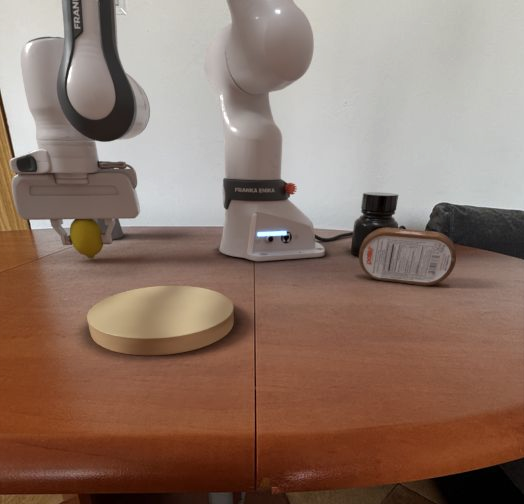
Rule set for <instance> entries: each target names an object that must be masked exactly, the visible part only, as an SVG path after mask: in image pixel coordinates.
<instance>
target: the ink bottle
mask: <svg viewBox="0 0 524 504" xmlns="http://www.w3.org/2000/svg"><path fill="white" fill-rule="evenodd" d="M398 200H399V194H397V193H392V192H376V191H375V192H373V191H371V192H370V191H369V192H368V191H367V192H363V193H362V200H361V205H360V206H361V207H360V209H361V210H360V212H361V214H362V215H360V216H359V217H357V219H355V220H354V223H353V228H352V232H353V235H352V237H351V243H350V252H351V254H353V255H354V256H357V257H359V253H360V248H361V245H362V243H363V241H364V239H365V238H366V237H367V236H368V235H369V234H370V233H372V232H373V231H375V230H377V229H381V228H399V223H398V221H397V220H395V219H396V218H395V217H394V215H395V214H396V211H397V205H398Z"/></svg>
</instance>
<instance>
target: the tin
mask: <svg viewBox="0 0 524 504" xmlns="http://www.w3.org/2000/svg"><path fill="white" fill-rule="evenodd" d="M398 228H399V227H398ZM398 228H381V229H377V230H375V231H373V232H372V233H370V234H369V235H368V236H367V237H366V238H365V239H364V241H363V243H362V245H361V248H360V253H359V256H358V261H359V265H360V268H361V270H362V271H363V272H364V273H365V274H366V275H367V276H368V277H369V278H372V279H373V280H377V281H383V282H390V283H391V282H392V283H400V284H409V285H417V286H425V287H426V286H434V285H436V284H439V283H441V282H442V281H444V280H446V279H447V278H448V277H449V276H450V275H451V274H452V273H453V270H454V268H455V266H456V263H457V250H456V246H455V244H454V242H453V241H452V240H451V238H450V237H449V236H447V235H445V234H444V233H441V232H438V231H430V230H420V229H419V230H417V229H407V228H406V229H398Z"/></svg>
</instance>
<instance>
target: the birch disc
mask: <svg viewBox="0 0 524 504" xmlns="http://www.w3.org/2000/svg"><path fill="white" fill-rule="evenodd" d="M234 309H235V308H234V303H233V302H232V300H231V299H230V298H229V297H228V296H226V295H224V294H223V293H220V292H218V291H215V290H212V289H208V288H204V287H198V286H189V285H158V286H157V285H156V286H147V287H140V288H135V289H130V290H126V291H122V292H119V293H116V294H113V295H111V296H108V297H106V298H103V299H102V300H100V301H98V302H97V303H95V304H94V305H93V306H91V308H90V309H89V310H88V312H87V314H86V319H87V325H88V329H89V334H90V337H91V338H92V339H91V340H93V342H94V343H96V344H97V345H99V346H100V347H102V348H103V349H106V350H108V351H112V352H115V353H120V354H126V355H132V356H133V355H134V356H167V355H174V354H175V355H176V354H181V353H186V352H191V351H195V350H198V349H201V348H204V347H207V346H210V345H212V344H214V343H216V342H218V341H220V340H221V339H223V338H224V337H226V336H227V335H228V334H229V333H230V332H231V330H232V329H233V327H234V323H235V315H234V314H235V313H234V311H235V310H234Z"/></svg>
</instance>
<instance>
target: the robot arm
mask: <svg viewBox="0 0 524 504" xmlns="http://www.w3.org/2000/svg"><path fill="white" fill-rule="evenodd" d="M225 1H226V4H227V7H228V11H229V13H230V18H231V22H230V23H229V24H227V25H225V26H224V27H222V28H220V29H219V30H218V31H217V32H216V34H215V35H214V36H213V37H212V39H211V40H210V41H209V43H208V45H207V46H206V49H205V52H204V56H203V69H204V73H205V77H206V79H207V81H208V83H209V85H210V86H211V88H212V89H213V92H214V95H215V99H216V102H217V107H218V112H219V116H220V121H221V126H222V127H221V128H222V134H223V135H222V136H223V150H224V151H223V153H224V178H223V179H222V205H223V208H224V217H223V228H222V234H221V240H220V245H219V248H218V251H219V252H220V253H222V254H223V255H226V256H230V257H236V258H243V259H246V260H250V261H253V262H269V261H282V260H296V259H308V258H309V259H310V258H321V257H322V258H323V257H324V256H325V254H326V249H325V247H324V246H323V245H322V244H321V243H319V242H318V241H320V242H325V243H328V242H333V241H336V240H338V239H341V238H347V237H351V236H353V231H350V232H344V233H341V234H337V235H335V236H332V237H321V236H319V235H317V234H316V232H315V227H314V223H313V221H312V220H311V219H310V217H308V215H306V214H305V213H304V212H303V211H302V210H301V209H300V208H299V207H298V206H296V205H295V204H294V203H293V202H292V201H291V200H290V199H289V198H290V197H291V195H295V194H296V193H297V190H298V188H297V185H296V184H295V183H293V182H286V181H285V180H283V179H282V160H283V159H282V158H283V157H282V156H283V134H282V131H281V129H280V128H279V126H278V125H277V124H276V122H275V119H274V116H273V113H272V109H271V108H272V107H271V104H270V93H272V92H278V91H282V90H284V89H286V88H288V87H289V86H291V85H292V84H294V83H295V82H297V81H299V80H300V79H301V78H302V77H303V76H304V75H305V74H306V73H307V72H308V70H309V68H310V66H311V63H312V60H313V56H314V51H315V42H314V41H315V39H314V32H313V28H312V25H311V23H310V21H309V18H308V16H307V15H306V13H305V12H304V11H303V10H302V9H301V8H300V7H298V5H297V4H296V3H295V2H294V0H225ZM116 2H117V1H116V0H61V7H62V8H61V9H62V23H63V36H64V37H60V36H40V37H36V38H32V39H30V40H28V41H27V42H26V43H25V44H24V45H23V46H22V48H21V49H20V50H21V51H20V69H21V76H22V82H23V87H24V93H25V97H26V102H27V107H28V109H29V112H30V114H31V115H32V117H33V120H34V122H35V124H34V125H35V139H36V144H37V149H35V150H33V151H29V152H27V153H23V154H21V155H18V156H15V157H13V158H11V159H9V161H8V162H9V163H8V164H9V167H10V170H11V172H12V173H14V174H15V175H14V176H13V177H12V179H11V193H12V198H13V203H14V206H15V211H16V213H17V215H18V216H19V217H20V218H22V219H23V220H24V221H35V220H36V221H39V220H40V221H43V220H44V221H45V220H49V222H50V226H51V227H52V229H53V230H54V231H55V232H56V233H57V234H58V235H59V236H60V238H61V239H60V240H61V243H62V245H63V246H73V244H72V242H71V238H70V233H68V232H67V231H66V230H65V228H64V226H62V225H63V224H64V220H75V219H104V221H105V225H109V226H108V228H107V231H106V233H102V234H101V239H102V244H103V245H112V243H113V240H112V237H111V233H112V230H113V228H114V225H115V219H119V220H121V219H124V220H125V219H127V220H129V219H130V220H131V219H136V218H137V217H138V216H139V215H140V213H141V208H140V207H141V206H140V201H139V197H138V193H137V189H136V188H137V186H138V178H137V177H138V175H137V172H136V169H135V168H134V167H133V166H132V165H130V164H128V163H127V162H126V161H121V160H120V161H109V160H107V161H105V160H99V154H98V147H97V143H96V142H99V143H100V142H101V143H109V142H114V141H116V140H117V141H119V140H120V141H121V140H129V139H133V138H135V137H137V136H140V134H142V132H144V130H146V128H147V126H148V123H149V121H150V116H151V108H150V107H151V105H150V101H149V98H148V96H147V94H146V92H145V90H144V88H143V87H142V85H140V84H139V83H138V82H137V80H136V79H135V78H133V77H132V76H131V75H130V74H128V73H127V72H126V71H125V69H124V66H123V64H122V61H121V57H120V53H119V46H118V43H119V42H118V24H117V23H118V22H117V3H116ZM112 168H114V169H112ZM398 229H407V228H406V226H405V225H400V226H398ZM316 240H317V241H316Z"/></svg>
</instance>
